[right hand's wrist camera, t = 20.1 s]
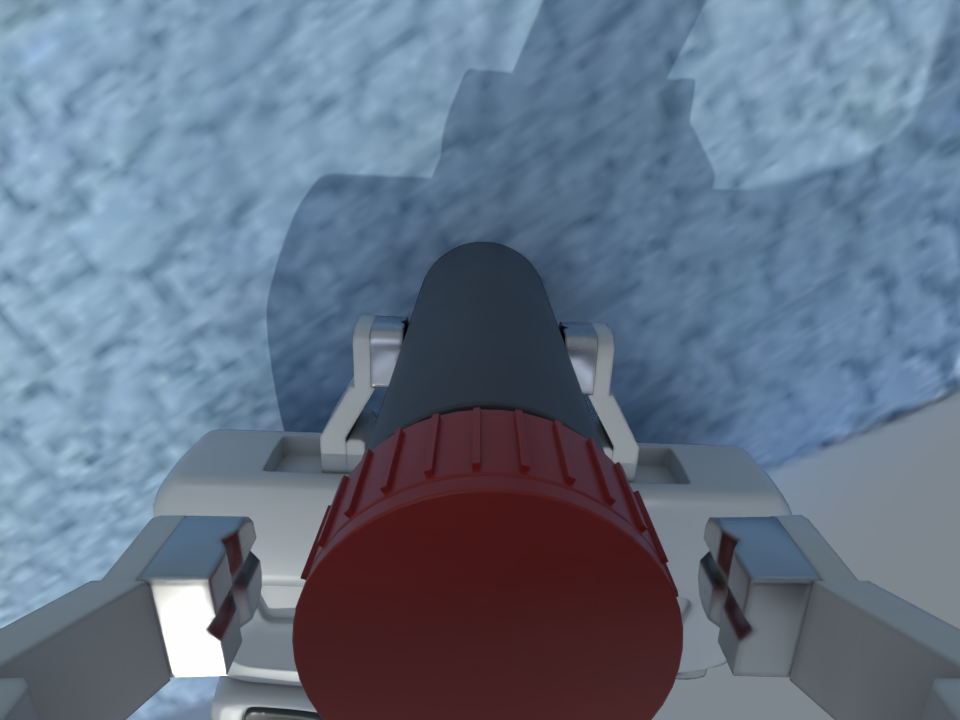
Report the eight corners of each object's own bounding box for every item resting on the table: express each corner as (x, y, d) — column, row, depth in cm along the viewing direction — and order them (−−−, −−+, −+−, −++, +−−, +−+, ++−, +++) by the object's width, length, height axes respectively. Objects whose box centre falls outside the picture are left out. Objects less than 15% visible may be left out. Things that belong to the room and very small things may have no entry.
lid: (510, 334, 9) (520, 399, 7) (711, 565, 11) (766, 676, 9) (256, 532, 10) (200, 636, 8) (467, 713, 12) (465, 840, 10)
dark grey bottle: (539, 366, 25) (625, 728, 10) (418, 360, 25) (329, 717, 10) (551, 245, 23) (675, 474, 8) (420, 238, 23) (317, 457, 8)
